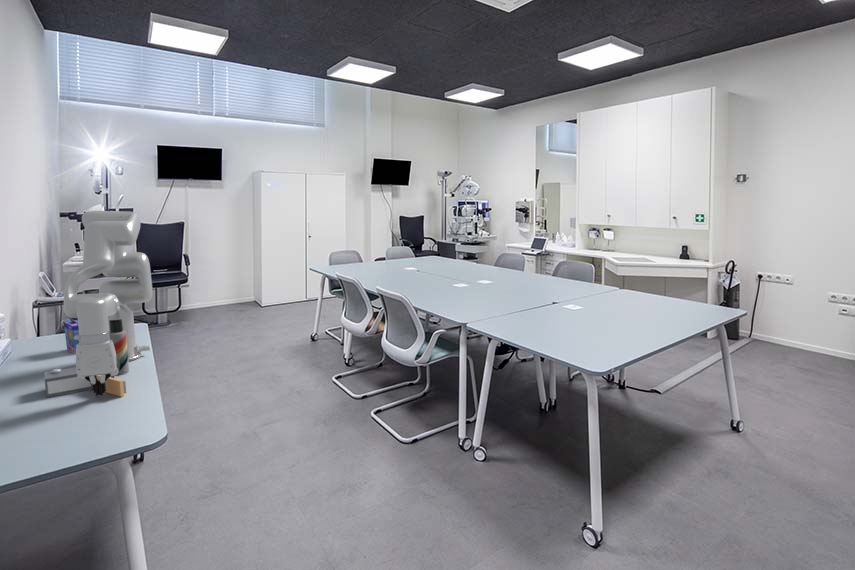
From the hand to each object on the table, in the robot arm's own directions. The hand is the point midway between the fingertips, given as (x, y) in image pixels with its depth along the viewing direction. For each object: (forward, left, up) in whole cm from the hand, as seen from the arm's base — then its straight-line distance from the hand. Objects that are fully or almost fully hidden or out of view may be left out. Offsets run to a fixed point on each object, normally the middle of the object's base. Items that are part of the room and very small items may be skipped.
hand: (100, 394), depth 147 cm
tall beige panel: (-3, -4, -1) cm, 5 cm away
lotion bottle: (-8, -23, -2) cm, 25 cm away
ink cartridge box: (+2, -62, -2) cm, 62 cm away
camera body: (+4, -15, -2) cm, 15 cm away
